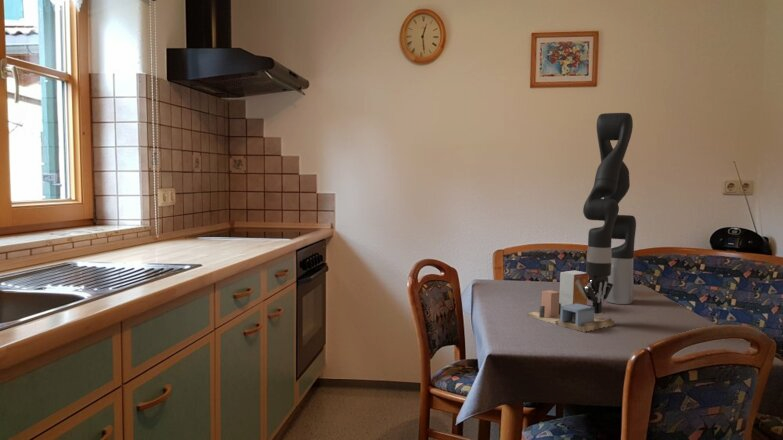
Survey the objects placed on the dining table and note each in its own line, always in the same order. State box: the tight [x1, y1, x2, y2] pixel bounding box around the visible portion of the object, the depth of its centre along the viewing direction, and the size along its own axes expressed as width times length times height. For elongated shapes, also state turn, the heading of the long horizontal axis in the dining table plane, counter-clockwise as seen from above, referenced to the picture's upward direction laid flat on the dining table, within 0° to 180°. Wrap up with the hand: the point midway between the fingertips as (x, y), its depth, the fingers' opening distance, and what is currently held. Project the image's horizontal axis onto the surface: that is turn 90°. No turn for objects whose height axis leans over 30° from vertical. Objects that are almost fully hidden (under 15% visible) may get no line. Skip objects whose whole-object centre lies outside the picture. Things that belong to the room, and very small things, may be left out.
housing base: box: [557, 313, 615, 333], centre depth 178 cm, size 15×10×4 cm, turn 124°
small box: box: [559, 270, 589, 306], centre depth 202 cm, size 8×6×13 cm
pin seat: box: [526, 303, 561, 325], centre depth 186 cm, size 10×12×4 cm
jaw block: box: [540, 289, 560, 317], centre depth 186 cm, size 4×4×8 cm
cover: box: [560, 303, 595, 326], centre depth 175 cm, size 8×7×5 cm
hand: (596, 313), depth 181 cm, fingers closed
